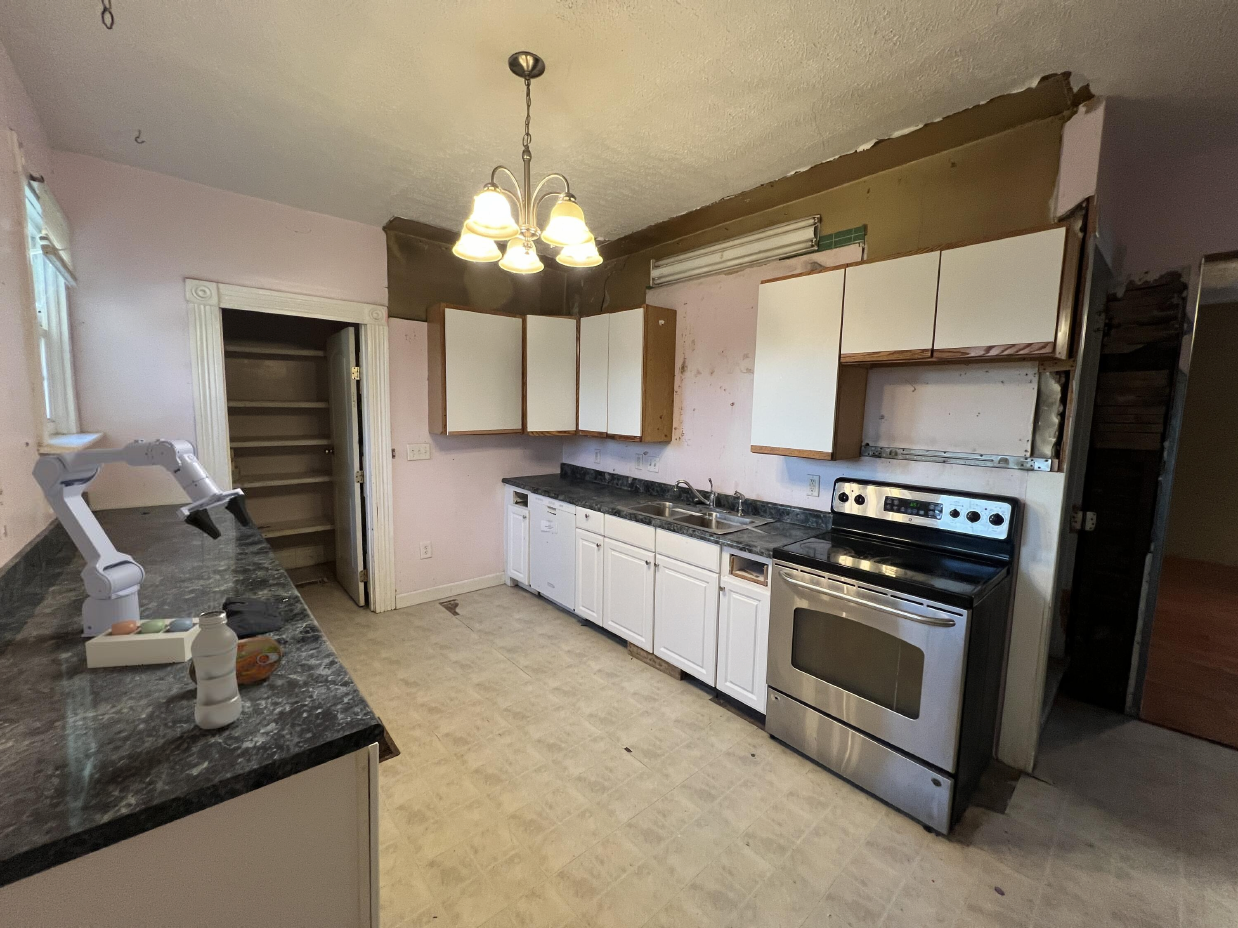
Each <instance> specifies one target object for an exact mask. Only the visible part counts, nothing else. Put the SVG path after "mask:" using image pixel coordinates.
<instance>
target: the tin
mask: <svg viewBox="0 0 1238 928" xmlns="http://www.w3.org/2000/svg"><path fill="white" fill-rule="evenodd" d="M282 655H283V652H282V647H281V645H280V644H279V643H278V641H276V640H275V639H273V638H272V637H267V636H257V637H255V636H254V637H251V638H249V637H248V638H244V639H238V647H237V655H236V669H235V670H236V680H237V685H241V684H246V683H252V682H256V681H261V680H264V679H266V678H269V677H270V676H271V675H273V674H274V673H275V672H276V671H277V669H278V668H279V667H280V665H281V663H282ZM188 674H189V678H190V680H191V682H192V683H193V684H195V685H196V686H197V677H196V670H195V665H194V662H193V660H192V661H191V663H190V664H189V668H188Z"/></svg>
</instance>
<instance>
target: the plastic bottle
mask: <svg viewBox="0 0 1238 928" xmlns="http://www.w3.org/2000/svg"><path fill="white" fill-rule="evenodd" d="M198 618H199V628H201V630H200V632H199V633H198V634H197V636H196V637H195V639H194V640H193V642H192V645H191V654H192V657H191V659H192V661H193V662H194V665H195V670H196V677H197V685H196V687H197V688H196V704H195V706H194V714H193V715H194V720H195V722H196V723H195V724H196V726H198V727H200V728H201V729H203V730H214V729H219V728H223V727H225V726H228V725H230V724H232V723H234V722H235V721H236V720H237V719H238V718H239V716H240V715H241V712H242V706H243V702H242V698H241V694H240V691H239V687H238V684H237V680H236V670H235V669H236V655H237V647H238V640H239V638H238V636H237V635H236V633H235V632H234V631H233V630H232V629H230V628H229V627H228V626H226V623H227V618H226V612H225V611H223V610H222V609H220V610H219V609H218V610H217V609H215V610H210V611H206V612H203V613H201V614H199V615H198Z"/></svg>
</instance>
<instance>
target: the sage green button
mask: <svg viewBox="0 0 1238 928" xmlns="http://www.w3.org/2000/svg"><path fill="white" fill-rule="evenodd" d="M164 619H165V618H164ZM164 619H163V618H156V619H155V618H153V619H148V620H149V621H146V622H143V623H142V624H141V625H140V627H141V634H151V633H159V632H161V631H162V630H164V629H165V620H164Z"/></svg>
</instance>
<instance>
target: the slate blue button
mask: <svg viewBox="0 0 1238 928" xmlns="http://www.w3.org/2000/svg"><path fill="white" fill-rule="evenodd" d="M192 618H193V617H181V618H175V619H176V620H173V621H171V622H170V623H169V628H170V632H187V631H189V630H190V629H191V628H193V619H192Z"/></svg>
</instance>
